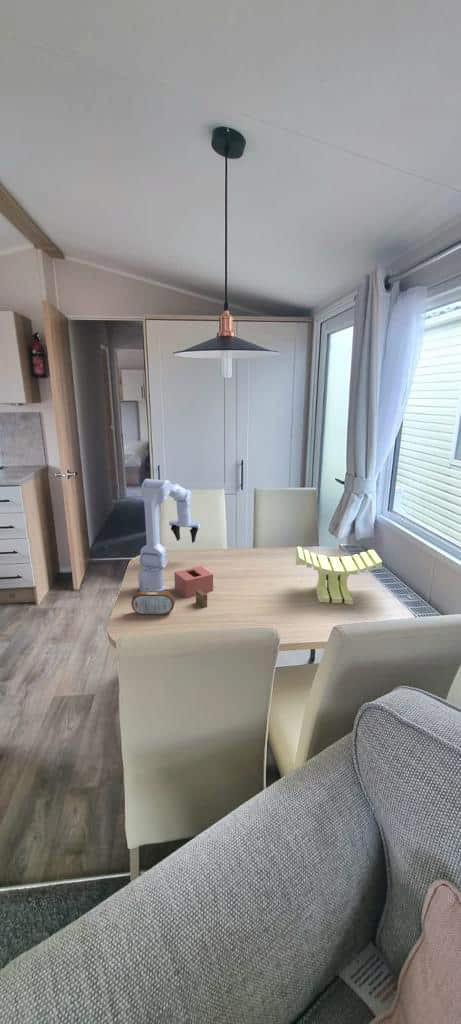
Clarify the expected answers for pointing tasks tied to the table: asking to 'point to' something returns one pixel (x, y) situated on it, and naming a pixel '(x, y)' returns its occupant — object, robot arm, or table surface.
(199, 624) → the table surface
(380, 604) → the table surface
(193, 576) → the money box
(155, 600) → the tin
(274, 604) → the table surface
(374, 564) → the slatted curved stool
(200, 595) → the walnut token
